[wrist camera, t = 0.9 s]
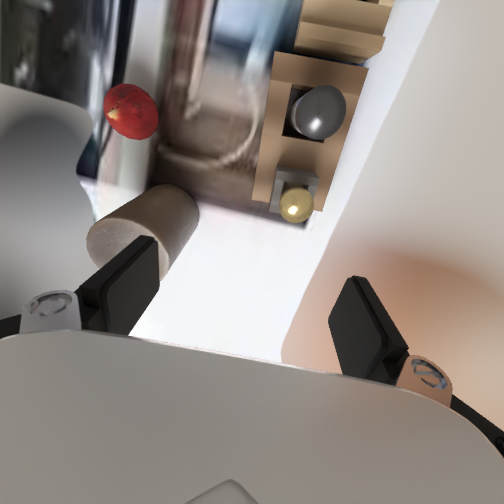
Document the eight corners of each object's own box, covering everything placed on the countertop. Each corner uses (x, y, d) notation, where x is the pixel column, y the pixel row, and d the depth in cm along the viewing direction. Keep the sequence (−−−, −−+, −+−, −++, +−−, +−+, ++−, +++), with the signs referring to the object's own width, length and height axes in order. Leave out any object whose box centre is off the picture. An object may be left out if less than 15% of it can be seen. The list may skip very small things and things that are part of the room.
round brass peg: (281, 177, 27) (283, 187, 23) (312, 183, 27) (318, 193, 23) (275, 206, 28) (276, 219, 25) (303, 211, 29) (308, 225, 25)
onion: (131, 77, 29) (87, 65, 22) (173, 103, 30) (144, 98, 23) (121, 123, 32) (80, 125, 25) (160, 145, 33) (131, 152, 26)
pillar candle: (132, 188, 36) (57, 228, 24) (190, 178, 35) (142, 215, 22) (156, 241, 41) (104, 298, 29) (207, 234, 40) (176, 291, 27)
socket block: (274, 59, 27) (275, 40, 21) (356, 74, 27) (383, 60, 21) (253, 191, 35) (249, 208, 29) (316, 202, 35) (327, 221, 29)
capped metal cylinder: (292, 94, 29) (305, 80, 18) (324, 99, 29) (353, 89, 18) (285, 129, 31) (293, 135, 20) (314, 135, 31) (336, 143, 20)
